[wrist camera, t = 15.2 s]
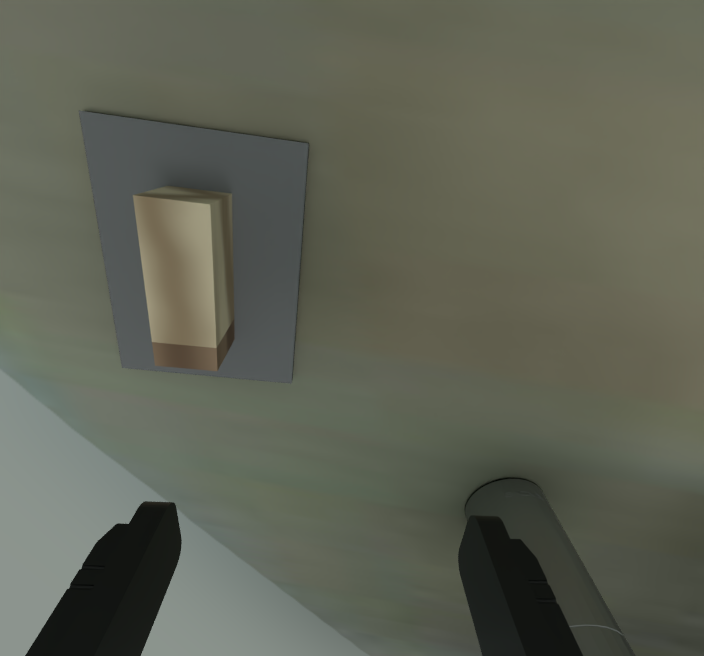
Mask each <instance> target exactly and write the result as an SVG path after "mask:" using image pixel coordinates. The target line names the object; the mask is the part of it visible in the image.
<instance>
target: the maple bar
mask: <svg viewBox="0 0 704 656" xmlns="http://www.w3.org/2000/svg"><path fill="white" fill-rule="evenodd" d="M133 200H134V208H135V215H136V223H137V231H138V238H139V246H140V254H141V262H142V269H143V277H144V285H145V292H146V300H147V308H148V315H149V323H150V331H151V338H152V346H153V354H154V362H155V366H163V367H174V368H186V369H197V370H208V371H218V369H219V368H220V366H221V364H222V362H223V360H224V358H225V356H226V355H227V353H228V351H229V349H230V347H231V345H232V343H233V341H234V340H235V331H234V276H233V221H232V194H231V193H223V192H215V191H206V190H198V189H190V188H182V187H174V186H165V187H161V188H157V189H154V190H150V191H146V192H143V193H139V194H135V195H133Z"/></svg>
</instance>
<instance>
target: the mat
mask: <svg viewBox="0 0 704 656" xmlns="http://www.w3.org/2000/svg"><path fill="white" fill-rule="evenodd" d="M79 115H80V120H81V126H82V132H83V138H84V144H85V150H86V156H87V162H88V168H89V174H90V180H91V186H92V192H93V198H94V204H95V210H96V216H97V222H98V227H99V233H100V239H101V245H102V251H103V257H104V263H105V269H106V275H107V281H108V287H109V293H110V299H111V305H112V311H113V317H114V323H115V328H116V334H117V340H118V346H119V352H120V358H121V364H122V368H131V369H141V370H152V371H163V372H174V373H184V374H195V375H206V376H217V377H227V378H238V379H249V380H259V381H270V382H281V383H292V376H293V362H294V348H295V334H296V320H297V306H298V292H299V278H300V264H301V250H302V236H303V222H304V207H305V193H306V179H307V165H308V151H309V143H303V142H296V141H289V140H282V139H275V138H268V137H261V136H254V135H247V134H240V133H233V132H226V131H219V130H212V129H205V128H198V127H191V126H184V125H177V124H170V123H163V122H156V121H149V120H142V119H135V118H128V117H121V116H114V115H107V114H100V113H93V112H86V111H79ZM165 186H174V187H182V188H190V189H198V190H206V191H215V192H223V193H231V194H232V221H233V276H234V331H235V340H234V341H233V343H232V345H231V347H230V349H229V351H228V353H227V355H226V356H225V358H224V360H223V362H222V364H221V366H220V368H219V369H218V371H208V370H197V369H186V368H174V367H163V366H155V362H154V354H153V346H152V338H151V331H150V323H149V315H148V308H147V300H146V292H145V285H144V277H143V269H142V262H141V254H140V246H139V238H138V231H137V223H136V215H135V208H134V200H133V195H135V194H139V193H143V192H146V191H150V190H154V189H157V188H161V187H165Z"/></svg>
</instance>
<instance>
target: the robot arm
mask: <svg viewBox="0 0 704 656" xmlns="http://www.w3.org/2000/svg"><path fill="white" fill-rule="evenodd" d="M465 514H466V518H467V521H468V522H467V526H466V529H465V532H464V535H463V538H462V542H461V545H460V548H459V554H458V563H459V571H460V576H461V579H462V583H463V587H464V590H465V594H466V597H467V601H468V605H469V608H470V612H471V616H472V619H473V623H474V626H475V630H476V634H477V637H478V641H479V645H480V648H481V652H482V655H483V656H635V654H634V652H633V650H632V649H631V647H630V645H629V643H628V642H627V640H626V638H625V637H624V635H623V633H622V631H621V629H620V628H619V626H618V624H617V622H616V621H615V619H614V617H613V615H612V614H611V612H610V610H609V608H608V607H607V605H606V603H605V601H604V599H603V598H602V596H601V594H600V592H599V591H598V589H597V587H596V585H595V584H594V582H593V580H592V578H591V576H590V575H589V573H588V571H587V569H586V568H585V566H584V564H583V562H582V561H581V559H580V557H579V555H578V554H577V552H576V550H575V548H574V546H573V545H572V543H571V541H570V539H569V538H568V536H567V534H566V532H565V531H564V529H563V527H562V525H561V523H560V522H559V520H558V518H557V516H556V514H555V513H554V511H553V509H552V507H551V506H550V504H549V502H548V500H547V499H546V497H545V495H544V493H543V492H542V490H541V489H540V488H539V487H538V486H537V485H535V484H534V483H532V482H529V481H526V480H521V479H505V480H499V481H496V482H492V483H490V484H488V485H486V486H483V487H482V488H480V489H479V490H477V491H476V492H475V493H474V494H473V495H472V496H471V497H470V499H469V500H468V502H467V505H466V507H465ZM180 551H181V534H180V528H179V522H178V516H177V510H176V505H175V503H172V502H143V503H142V504H141V505H140V506H139V508H138V509H137V511H136V513H135V515H134V516H133V518H132V520H131V521H130V523H129V524H116V525H115V526H114V527H113V528H112V529H111V530H110V531H108V532H107V533H106V534H105V535H104V536H103V537H102V538H101V539H100V540H99V541H98V542H97V543H96V544H95V546H94V547H93V549H92V550H91V552H90V554H89V555H88V557H87V558H86V560H85V562H84V563H83V566H82V569H81V570H79V571H78V573H77V574H76V576H75V578H74V579H73V581H72V582H71V584H70V588H69V589H67V590H66V592H65V593H64V595H63V597H62V598H61V600H60V602H59V603H58V605H57V606H56V608H55V609H54V611H53V613H52V614H51V616H50V617H49V619H48V620H47V622H46V624H45V625H44V627H43V628H42V630H41V632H40V633H39V635H38V637H37V638H36V640H35V641H34V643H33V644H32V646H31V648H30V649H29V651H28V653H27V654H26V655H25V656H141V653H142V651H143V648H144V646H145V643H146V641H147V638H148V636H149V633H150V631H151V628H152V626H153V624H154V621H155V619H156V616H157V614H158V611H159V608H160V606H161V603H162V601H163V599H164V596H165V593H166V591H167V589H168V586H169V584H170V581H171V579H172V576H173V574H174V571H175V568H176V566H177V563H178V560H179V556H180Z"/></svg>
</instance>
